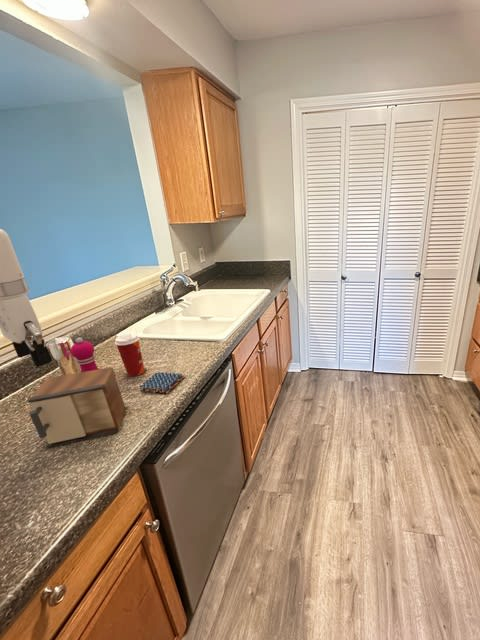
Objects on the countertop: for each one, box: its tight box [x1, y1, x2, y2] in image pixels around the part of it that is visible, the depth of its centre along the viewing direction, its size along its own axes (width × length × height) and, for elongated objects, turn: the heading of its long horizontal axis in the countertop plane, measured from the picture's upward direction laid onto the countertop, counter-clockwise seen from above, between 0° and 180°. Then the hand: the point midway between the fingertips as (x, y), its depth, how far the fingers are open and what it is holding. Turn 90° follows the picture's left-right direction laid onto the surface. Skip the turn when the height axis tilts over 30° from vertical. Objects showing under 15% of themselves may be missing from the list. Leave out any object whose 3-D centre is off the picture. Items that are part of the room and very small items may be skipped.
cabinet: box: [27, 366, 126, 448], centre depth 87 cm, size 16×12×14 cm
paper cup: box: [114, 333, 145, 377], centre depth 114 cm, size 8×8×14 cm
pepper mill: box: [71, 337, 100, 372], centre depth 101 cm, size 7×7×20 cm
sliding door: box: [28, 395, 86, 445], centre depth 79 cm, size 8×5×13 cm, turn 108°
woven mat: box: [139, 371, 185, 394], centre depth 108 cm, size 10×11×2 cm
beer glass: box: [47, 335, 81, 376], centre depth 112 cm, size 7×7×15 cm
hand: (35, 359), depth 76 cm, fingers open, 9 cm apart
